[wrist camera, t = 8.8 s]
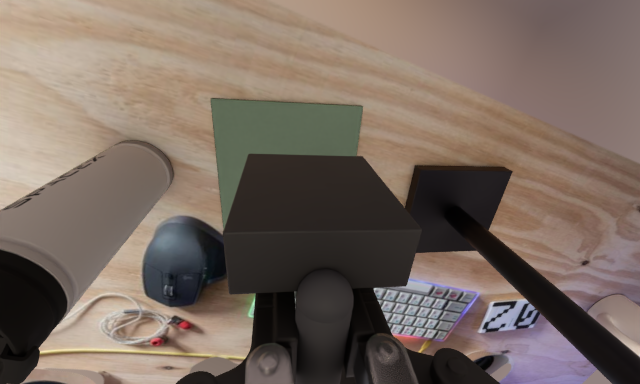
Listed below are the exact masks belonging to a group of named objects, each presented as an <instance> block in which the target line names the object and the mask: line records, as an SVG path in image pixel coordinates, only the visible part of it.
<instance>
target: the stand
mask: <svg viewBox="0 0 640 384" xmlns="http://www.w3.org/2000/svg"><path fill="white" fill-rule="evenodd" d="M511 174H512V171H511V170H509V169H507V168H505V167H472V166H415V169H414V173H413V177H412V182H411V186H410V190H409V194H408V198H407V203H406V207H405V209H406V210H407V212H408V213H409V214H410V215H411V217H412V218H413V219H414V220H415V221H416V223H417V224H418V225H419V226H420V228H421V229H422V232H421V235H420V239H419V243H418V246H417V250H416V253H425V252H451V251H478V252H479V253H480V254H481V255H482V256H483V257H484V258H485V259H486V260H487V261H488V262H489V263H490V264H491V265H492V266H493V267H494V268H495V269H496V270H497V271H498V272H499V273H500V274H501V275H502V276H503V277H504V278H505V279H506V280H507V281H508V282H509V283H510V284H511V285H512V286H513V287H514V288H515V289H516V290H517V291H518V292H519V293H520V294H521V295H522V296H523V297H525V298H526V299H527V300H528V301H529V302H530V303H531V304H532V305H533V306H534V307H535V308H536V309H537V310H538V311H539V312H540V313H541V314H542V315H543V316H544V317H545V318H546V319H547V320H548V321H549V322H550V323H551V324H552V325H553V326H554V327H555V328H556V329H557V330H558V331H559V332H560V333H561V334H562V335H563V336H564V337H565V338H566V339H567V340H568V341H569V342H570V343H571V344H572V345H573V346H574V347H575V348H576V349H577V350H579V351H580V352H581V353H582V354H583V355H584V356H585V357H586V358H587V359H588V360H589V361H590V362H591V363H592V364H593V365H594V366H595V367H596V368H597V369H598V370H599V371H600V372H601V373H602V374H603V375H604V376H605V377H606V378H607V379H608V380H609V381H610V382H611V383H612V384H640V357H639V356H638V355H637V354H636V353H635V352H633V351H632V350H631V349H630V348H629V347H627V346H626V345H625V344H624V343H623V342H621V341H620V340H619V339H618V338H617V337H615V336H614V335H613V334H612V333H611V332H609V331H608V330H607V329H606V328H605V327H603V326H602V325H601V324H600V323H599V322H597V321H596V320H595V319H594V318H593V317H591V316H590V315H589V314H588V313H587V312H585V311H584V310H583V309H582V308H581V307H579V306H578V305H577V304H576V303H575V302H573V301H572V300H571V299H570V298H569V297H567V296H566V295H565V294H564V293H563V292H561V291H560V290H559V289H558V288H557V287H555V286H554V285H553V284H552V283H551V282H549V281H548V280H547V279H546V278H545V277H543V276H542V275H541V274H540V273H539V272H537V271H536V270H535V269H534V268H533V267H531V266H530V265H529V264H528V263H527V262H525V261H524V260H523V259H522V258H521V257H519V256H518V255H517V254H516V253H515V252H513V251H512V250H511V249H510V248H509V247H507V246H506V245H505V244H504V243H503V242H501V241H500V240H499V239H498V238H497V237H495V236H494V235H493V234H492V233H491V232H489V231H488V230H489V228H490V225H491V223H492V221H493V218H494V216H495V213H496V211H497V208H498V206H499V203H500V201H501V198H502V196H503V194H504V191H505V189H506V186H507V184H508V181H509V179H510V176H511Z"/></svg>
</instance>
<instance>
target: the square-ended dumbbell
mask: <svg viewBox="0 0 640 384" xmlns="http://www.w3.org/2000/svg"><path fill="white" fill-rule="evenodd" d="M421 232H422V229H421V228H420V226H419V225H418V224H417V223H416V221H415V220H414V219H413V218H412V217H411V215H410V214H409V213H408V212H407V210H406V209H405V208H404V207H403V205H402V204H401V203H400V202H399V201H398V199H397V198H396V197H395V196H394V194H393V193H392V192H391V191H390V189H389V188H388V187H387V186H386V185H385V183H384V182H383V181H382V180H381V178H380V177H379V176H378V175H377V174H376V172H375V171H374V170H373V169H372V167H371V166H370V165H369V164H368V162H367V161H366V160H365V159H364V158H363V157H362V156H325V155H287V154H248V157H247V160H246V163H245V166H244V169H243V172H242V175H241V178H240V182H239V185H238V188H237V191H236V194H235V197H234V200H233V203H232V206H231V209H230V213H229V216H228V219H227V222H226V225H225V228H224V231H223V239H224V249H225V259H226V269H227V278H228V288H229V294H249V293H271V292H292V291H297V294H296V311H295V321H296V325H297V336H298V345H297V365H296V383H294V384H356V381H355V377H347V378H346V374H345V370H344V365H343V362H344V356H345V351H346V345H347V339H348V333H349V327H350V321H351V315H352V310H353V300H354V297H353V292H352V289H357V288H378V287H399V286H406V285H407V282H408V279H409V275H410V272H411V268H412V264H413V261H414V257H415V253H416V250H417V246H418V243H419V239H420V235H421Z"/></svg>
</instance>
